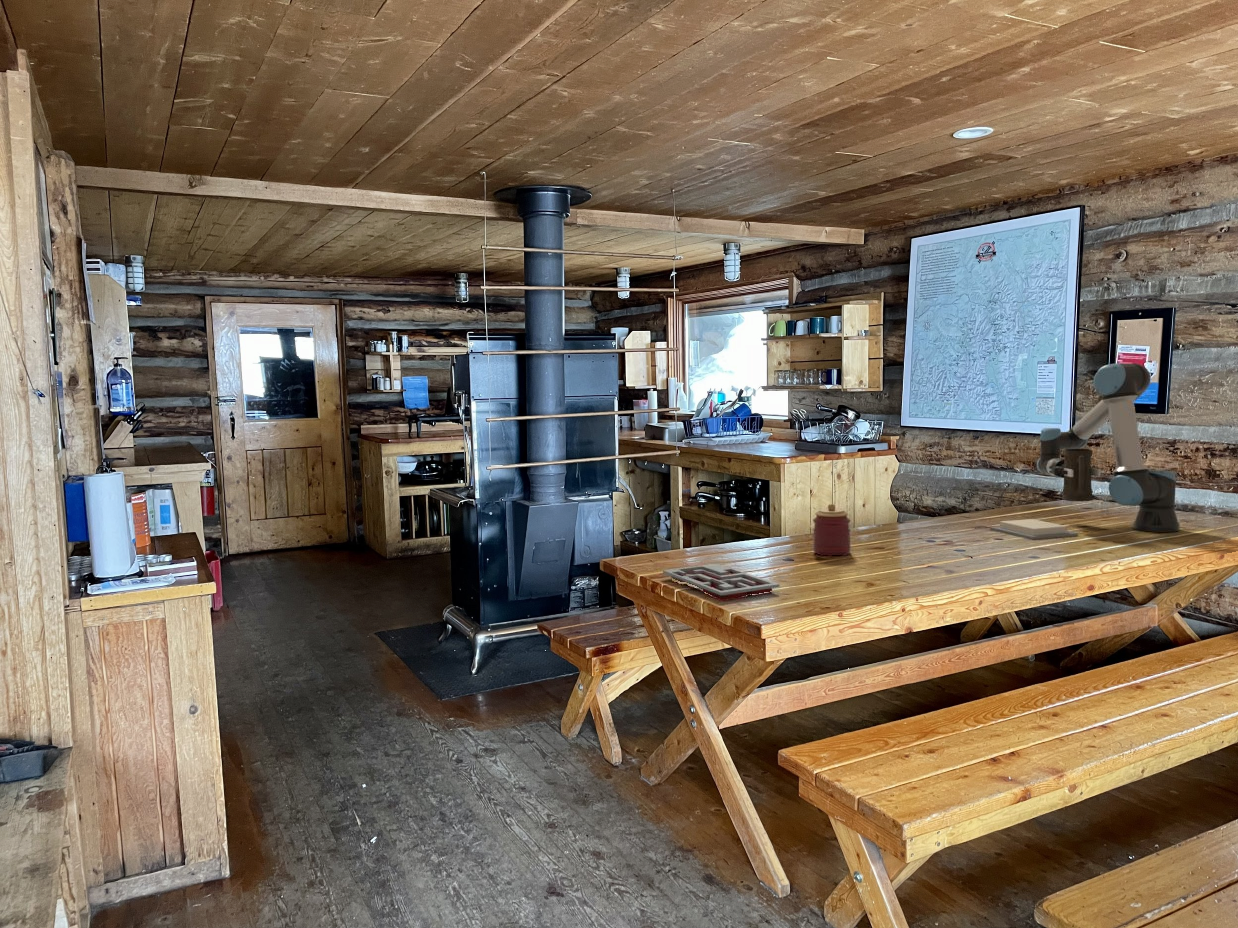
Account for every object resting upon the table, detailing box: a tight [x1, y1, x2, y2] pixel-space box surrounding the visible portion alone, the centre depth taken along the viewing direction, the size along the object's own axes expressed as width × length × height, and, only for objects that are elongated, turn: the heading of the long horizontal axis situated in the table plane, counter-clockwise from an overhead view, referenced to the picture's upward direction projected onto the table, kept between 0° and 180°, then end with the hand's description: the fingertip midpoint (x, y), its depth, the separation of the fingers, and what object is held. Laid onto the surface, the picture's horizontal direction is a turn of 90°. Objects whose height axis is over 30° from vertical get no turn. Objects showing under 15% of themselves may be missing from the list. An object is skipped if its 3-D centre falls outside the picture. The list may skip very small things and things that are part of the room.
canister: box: [812, 503, 852, 557], centre depth 312 cm, size 13×13×18 cm
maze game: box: [662, 563, 780, 601], centre depth 268 cm, size 35×20×3 cm, turn 25°
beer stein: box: [1061, 448, 1094, 502], centre depth 340 cm, size 15×11×20 cm
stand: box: [989, 518, 1079, 540], centre depth 341 cm, size 20×24×4 cm
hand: (1085, 473), depth 336 cm, fingers closed on beer stein, 9 cm apart
